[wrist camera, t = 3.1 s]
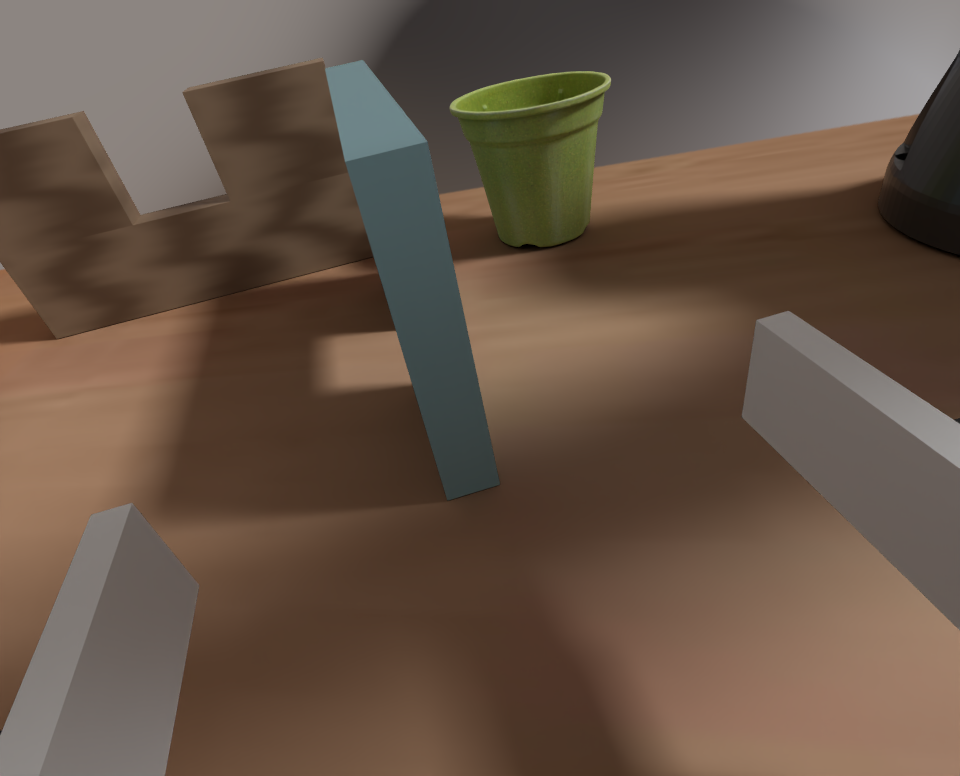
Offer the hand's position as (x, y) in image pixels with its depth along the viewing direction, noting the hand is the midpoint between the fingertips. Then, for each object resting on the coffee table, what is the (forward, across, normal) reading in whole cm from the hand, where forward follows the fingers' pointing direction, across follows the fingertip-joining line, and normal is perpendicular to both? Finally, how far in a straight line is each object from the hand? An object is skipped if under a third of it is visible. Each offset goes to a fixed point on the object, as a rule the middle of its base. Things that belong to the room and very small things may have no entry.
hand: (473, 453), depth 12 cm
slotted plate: (+15, 0, -7) cm, 17 cm away
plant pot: (+26, +10, -7) cm, 29 cm away
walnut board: (+30, -12, -7) cm, 33 cm away
